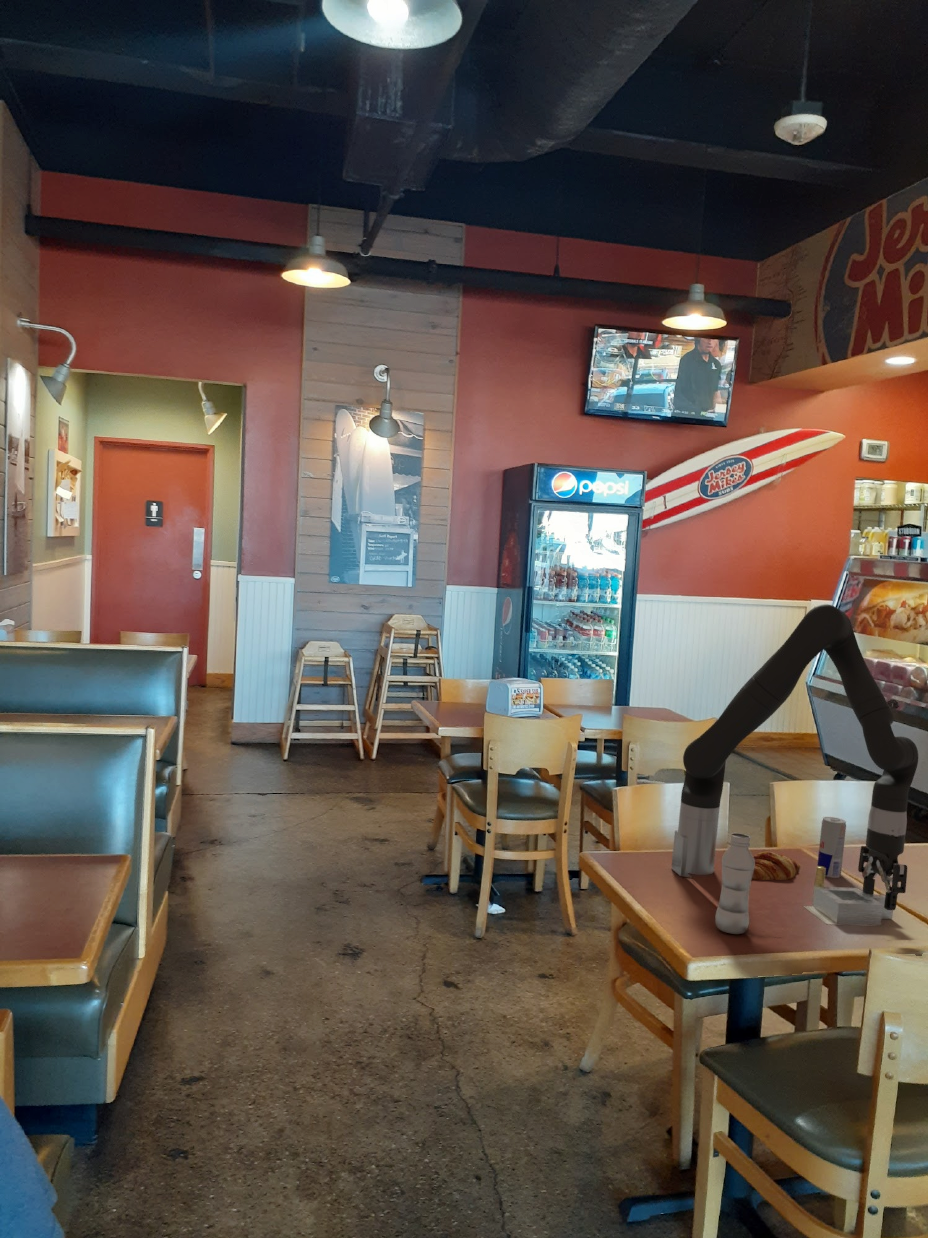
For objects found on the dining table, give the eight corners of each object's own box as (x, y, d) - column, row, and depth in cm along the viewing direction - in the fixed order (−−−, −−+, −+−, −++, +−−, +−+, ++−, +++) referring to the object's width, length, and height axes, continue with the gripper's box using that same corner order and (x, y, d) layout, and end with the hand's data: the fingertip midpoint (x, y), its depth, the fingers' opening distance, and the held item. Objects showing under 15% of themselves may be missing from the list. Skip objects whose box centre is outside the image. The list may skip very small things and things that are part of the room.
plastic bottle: (709, 925, 193) (718, 830, 192) (740, 926, 193) (750, 832, 192) (720, 937, 186) (730, 839, 185) (753, 939, 187) (763, 841, 186)
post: (815, 904, 208) (819, 868, 207) (811, 900, 210) (814, 865, 209) (823, 904, 208) (827, 869, 207) (819, 901, 210) (822, 866, 209)
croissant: (786, 882, 236) (777, 851, 239) (819, 875, 229) (809, 843, 232) (734, 893, 224) (724, 859, 227) (767, 885, 217) (757, 851, 219)
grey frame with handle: (836, 924, 196) (838, 903, 195) (812, 906, 205) (814, 886, 205) (902, 926, 198) (904, 905, 197) (875, 908, 207) (878, 888, 207)
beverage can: (836, 876, 233) (842, 817, 233) (843, 883, 228) (849, 823, 227) (813, 873, 234) (819, 815, 233) (819, 881, 228) (826, 821, 228)
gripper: (852, 818, 207) (844, 890, 208) (889, 837, 193) (881, 914, 194) (883, 820, 208) (876, 891, 209) (922, 839, 194) (914, 915, 195)
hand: (878, 902), depth 202 cm, fingers open, 8 cm apart
